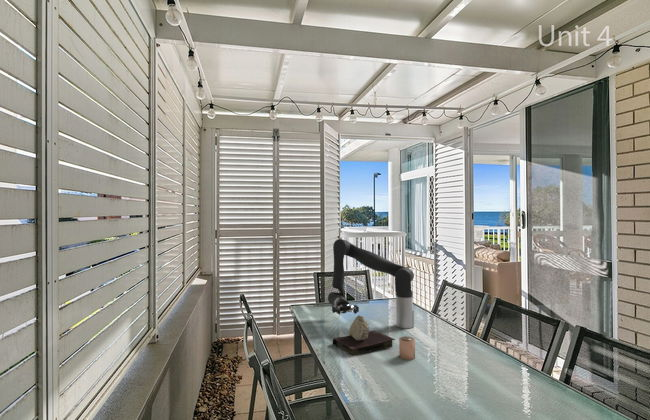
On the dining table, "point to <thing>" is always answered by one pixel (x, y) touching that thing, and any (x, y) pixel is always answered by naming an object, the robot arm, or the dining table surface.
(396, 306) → the robot arm
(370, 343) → the diary
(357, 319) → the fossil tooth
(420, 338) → the dining table surface
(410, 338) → the peach glossy cylinder
